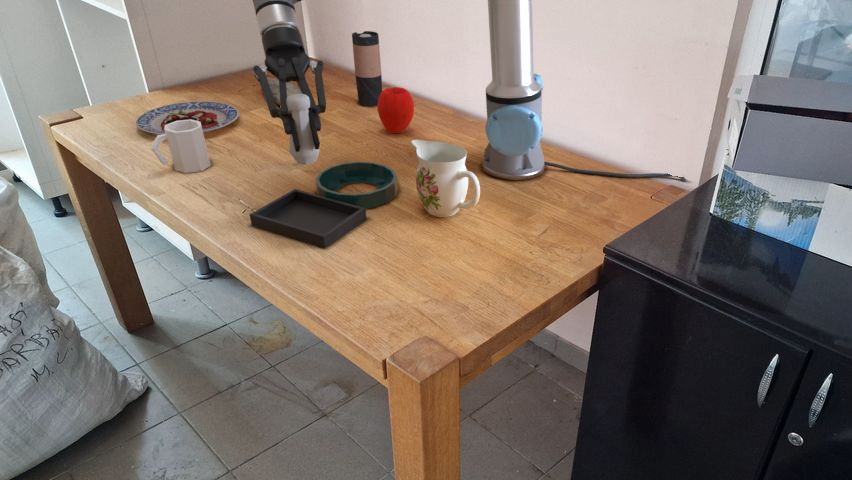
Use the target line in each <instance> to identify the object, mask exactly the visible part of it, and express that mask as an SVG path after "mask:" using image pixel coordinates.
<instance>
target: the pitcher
mask: <svg viewBox="0 0 852 480" xmlns="http://www.w3.org/2000/svg"><path fill="white" fill-rule="evenodd" d="M411 145H412V146H413V148H415V150H416V152H415V153H416V159H417V161H418V165H417V168H416V171H415V172H416V173H415V174H416V175H415V186H416V191H417V195H418V198H419V200H420V203H421V205H422V206H423V208H424V209H425V210H426V211H427V213H428V214H429V215H431V216H433V217H437V218H438V217H439V218H447V217H452V216H454V215H456V214H457V213H458V212H459V211H460V209H462V210H468V209H471V208H474V207H475V206H476V205H477V204H478V203H479V200H480V197H481V185H480V181H479V179H478V177H477V175H476V174H475V173H473V171H470V170H468V168H467V166H466V160H467V156H468V155H467V154H468V152H467V150H466V148H464V147H462V146H461V145H458V144H456V143H455V144H454V143H451V142H443V141H431V140H426V139H417V138H416V139H412V140H411ZM469 181H471V183H472V186H473V187H472V188H473V196H472V199H471V200H470V201H467V202H465V200H466V198H467V193H468V189H469Z"/></svg>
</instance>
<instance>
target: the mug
mask: <svg viewBox="0 0 852 480" xmlns="http://www.w3.org/2000/svg"><path fill="white" fill-rule="evenodd" d="M164 131H165V134H162V135H159V134H156V135H157V136H156V137H155V138H154V140H153V142H152V144H151V145H150V149H151V151H152V152H153V153H154V155H155V156H156V158H157V159H158V161H159V162H160V163H161V164H162V166H166V165H167V164H168V163H169V162H168V161H167V159H166V158H165V157H164V155H163V154H162V153H161V151H160V150H159V149H160V147H161V145H162V143H163V141H166V142H167V146H168V150H169V153H170V158H171V160H172V161H171V162H172V164H173V169H174V170H175V171H177V172H179V173H184V174H189V173H198V172H202V171H204V170H206V169H207V168H209V167H211V160H210V157H209V152H208V148H207V147H208V146H207V143H206V139H205V134H204V133H203V130H202V126H201V122H199V121H195V120H179V121H175V122H172V123H169V124H167V125H165V128H164Z"/></svg>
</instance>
